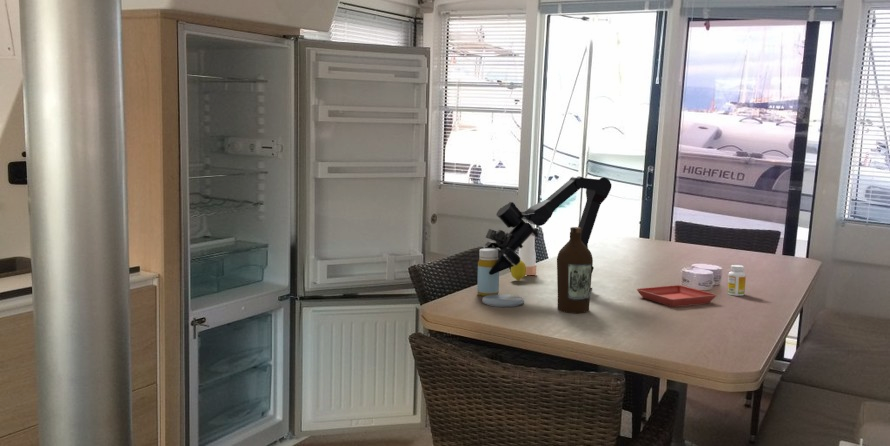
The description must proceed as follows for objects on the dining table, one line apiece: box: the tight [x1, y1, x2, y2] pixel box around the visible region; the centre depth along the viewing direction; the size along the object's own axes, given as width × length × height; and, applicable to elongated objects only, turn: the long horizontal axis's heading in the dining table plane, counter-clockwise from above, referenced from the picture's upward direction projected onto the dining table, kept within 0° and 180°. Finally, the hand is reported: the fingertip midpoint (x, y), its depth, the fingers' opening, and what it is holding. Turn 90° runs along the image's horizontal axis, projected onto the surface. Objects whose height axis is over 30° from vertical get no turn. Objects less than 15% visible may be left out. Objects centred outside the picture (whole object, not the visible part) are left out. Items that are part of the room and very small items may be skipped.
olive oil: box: [556, 226, 594, 314], centre depth 227 cm, size 11×11×25 cm
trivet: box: [482, 293, 525, 308], centre depth 237 cm, size 13×13×1 cm
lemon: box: [510, 260, 526, 281], centre depth 273 cm, size 6×6×8 cm
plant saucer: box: [636, 284, 717, 308], centre depth 243 cm, size 18×18×3 cm
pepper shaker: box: [517, 226, 537, 276], centre depth 285 cm, size 7×7×19 cm
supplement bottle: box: [727, 264, 747, 297], centre depth 253 cm, size 5×5×10 cm
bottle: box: [476, 247, 500, 297], centre depth 248 cm, size 7×7×15 cm
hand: (484, 271), depth 247 cm, fingers open, 9 cm apart
